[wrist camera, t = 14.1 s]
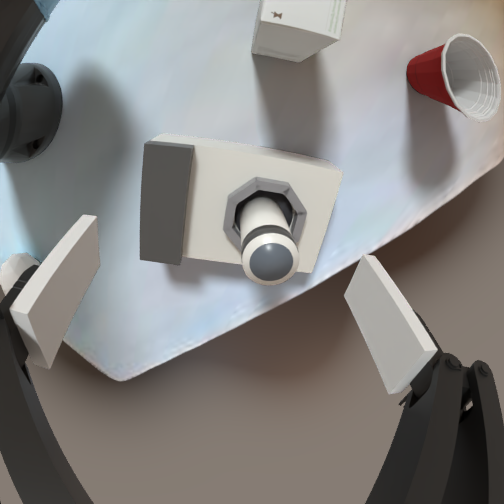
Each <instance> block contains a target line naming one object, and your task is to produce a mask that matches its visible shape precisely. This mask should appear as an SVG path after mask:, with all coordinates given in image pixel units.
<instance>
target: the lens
mask: <svg viewBox="0 0 504 504" xmlns="http://www.w3.org/2000/svg"><path fill="white" fill-rule="evenodd" d="M240 233H241V258H242V265H243V269H244V272H245V274H246V275H247V276H248V277H249V278H250V279H251V280H252V281H254V282H256V283H258V284H261V285H277V284H280V283H283V282H285V281H287V280H288V279H289V278H291V277H292V276H293V275H294V273H295V272H296V270H297V269H298V266H299V261H300V257H299V252H298V248H297V246H296V243H295V240H294V238H293V236H292V234H291V232H290V229H289V227H288V224H287V221H286V219H285V216H284V214H283V211H282V209H281V207H280V205H279V204H278V202H277V201H275V200H274V199H272V198H270V197H267V196H256V197H253V198H251V199H249V200H248V201H247V202H246V203H245V204H244V205H243V206H242V208H241V210H240Z"/></svg>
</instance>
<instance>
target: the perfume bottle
mask: <svg viewBox="0 0 504 504" xmlns="http://www.w3.org/2000/svg"><path fill="white" fill-rule="evenodd" d="M32 265H39V266H40V263H39V261H38V260H36V259H35V258H33V257H32V256H31V255H29V254H28V253H18V254H12V255H11V256H10V257H9V258H8V259H7V260H6V261H5V262H4V263H3V264H2V268H1V274H0V283H1V286H2V288H3V291H4V293H5V296H6V295H7V293H8V292H9V290H10V289H11V288H13V285H14V284H15V282H16V281H18V278H19V277H20V276H21V274H22V273H23V272H24V271H25V270H26V269H28V268H29V267H31V266H32Z"/></svg>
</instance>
